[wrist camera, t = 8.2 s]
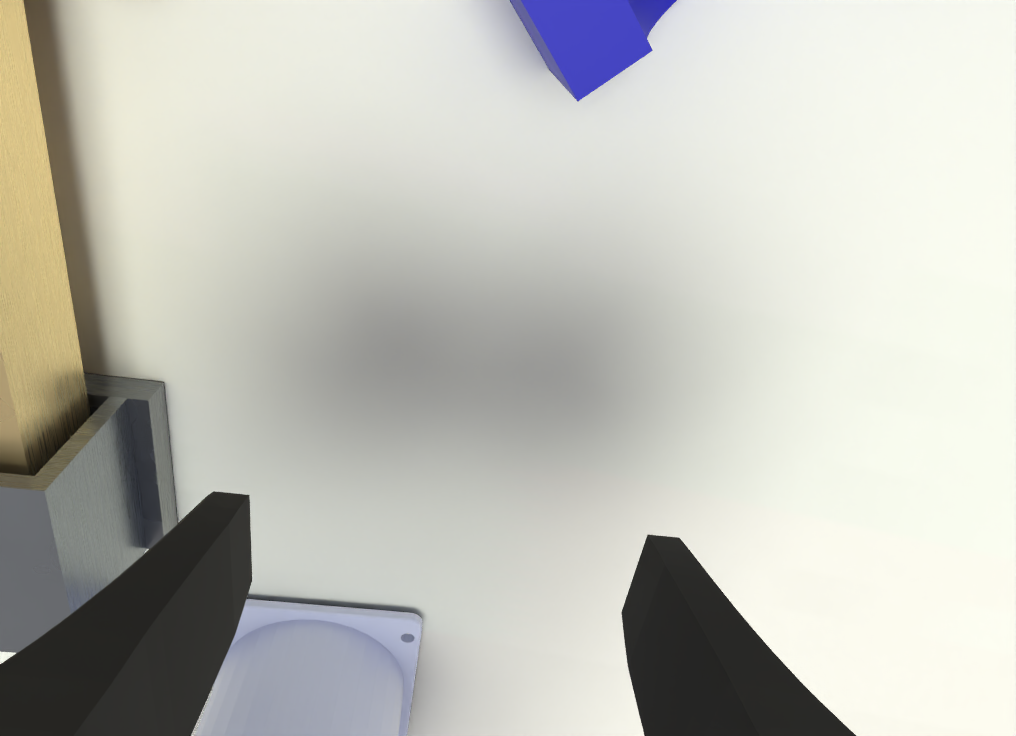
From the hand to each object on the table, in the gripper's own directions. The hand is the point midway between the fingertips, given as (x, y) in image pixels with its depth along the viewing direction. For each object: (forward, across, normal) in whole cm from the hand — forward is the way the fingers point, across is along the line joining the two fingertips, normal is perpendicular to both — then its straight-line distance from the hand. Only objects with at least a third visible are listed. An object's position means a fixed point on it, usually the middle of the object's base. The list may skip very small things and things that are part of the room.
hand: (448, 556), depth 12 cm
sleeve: (+9, +12, +6) cm, 16 cm away
